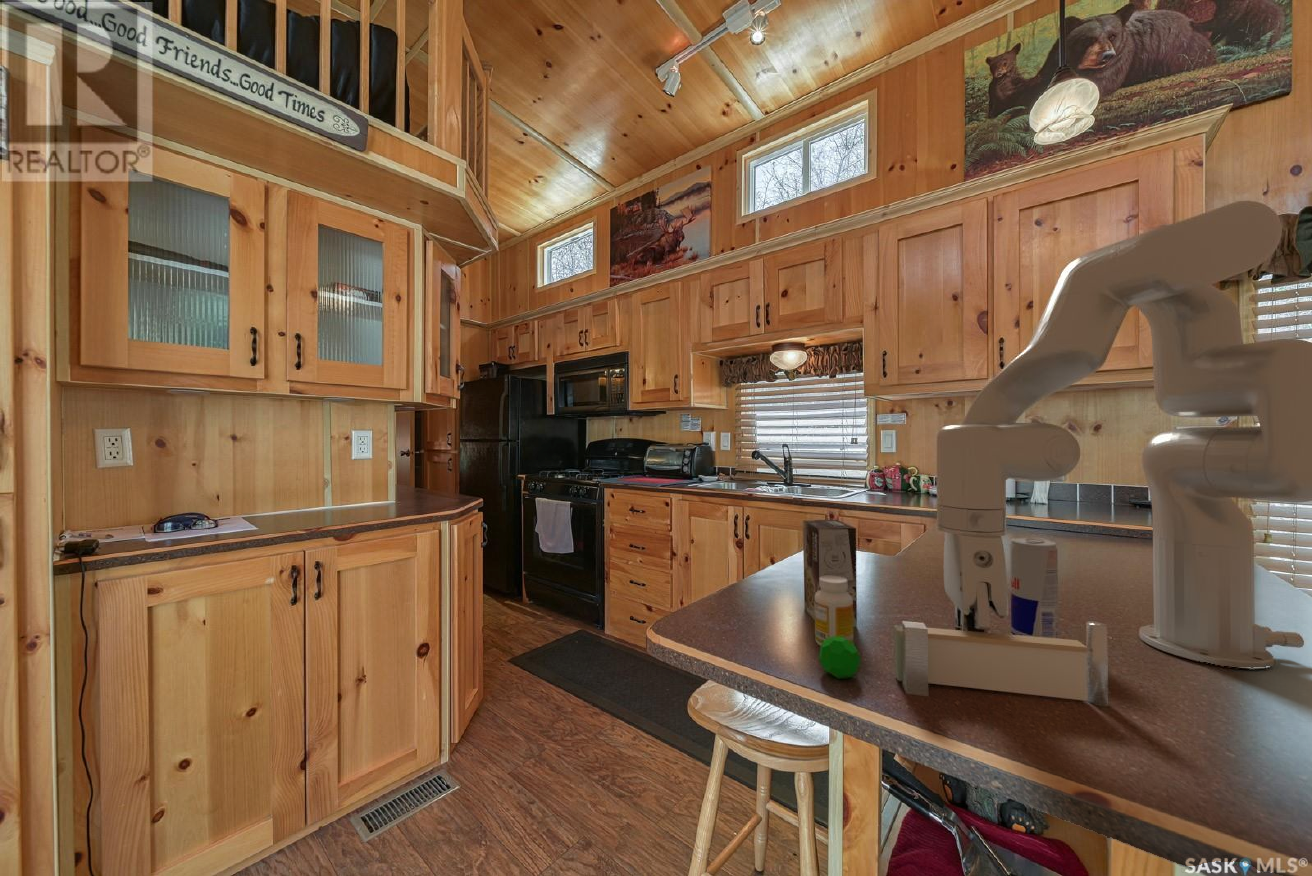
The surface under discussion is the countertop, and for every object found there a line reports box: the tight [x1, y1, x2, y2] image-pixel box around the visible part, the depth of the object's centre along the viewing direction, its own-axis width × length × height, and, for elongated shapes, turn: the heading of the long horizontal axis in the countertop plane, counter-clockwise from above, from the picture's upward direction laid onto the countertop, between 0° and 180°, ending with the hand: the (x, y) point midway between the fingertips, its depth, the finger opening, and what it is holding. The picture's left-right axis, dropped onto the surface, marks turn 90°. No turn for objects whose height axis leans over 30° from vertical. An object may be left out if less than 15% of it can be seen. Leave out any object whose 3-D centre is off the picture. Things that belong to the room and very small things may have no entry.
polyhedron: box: [818, 636, 861, 679], centre depth 63 cm, size 5×5×5 cm
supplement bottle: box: [814, 575, 854, 647], centre depth 72 cm, size 5×5×10 cm
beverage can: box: [1009, 537, 1059, 639], centre depth 73 cm, size 6×6×15 cm
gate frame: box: [901, 620, 1109, 707], centre depth 57 cm, size 22×2×9 cm, turn 81°
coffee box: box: [802, 519, 858, 628], centre depth 83 cm, size 9×6×16 cm
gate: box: [893, 624, 1088, 702], centre depth 59 cm, size 20×2×6 cm, turn 75°
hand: (971, 661), depth 62 cm, fingers closed
